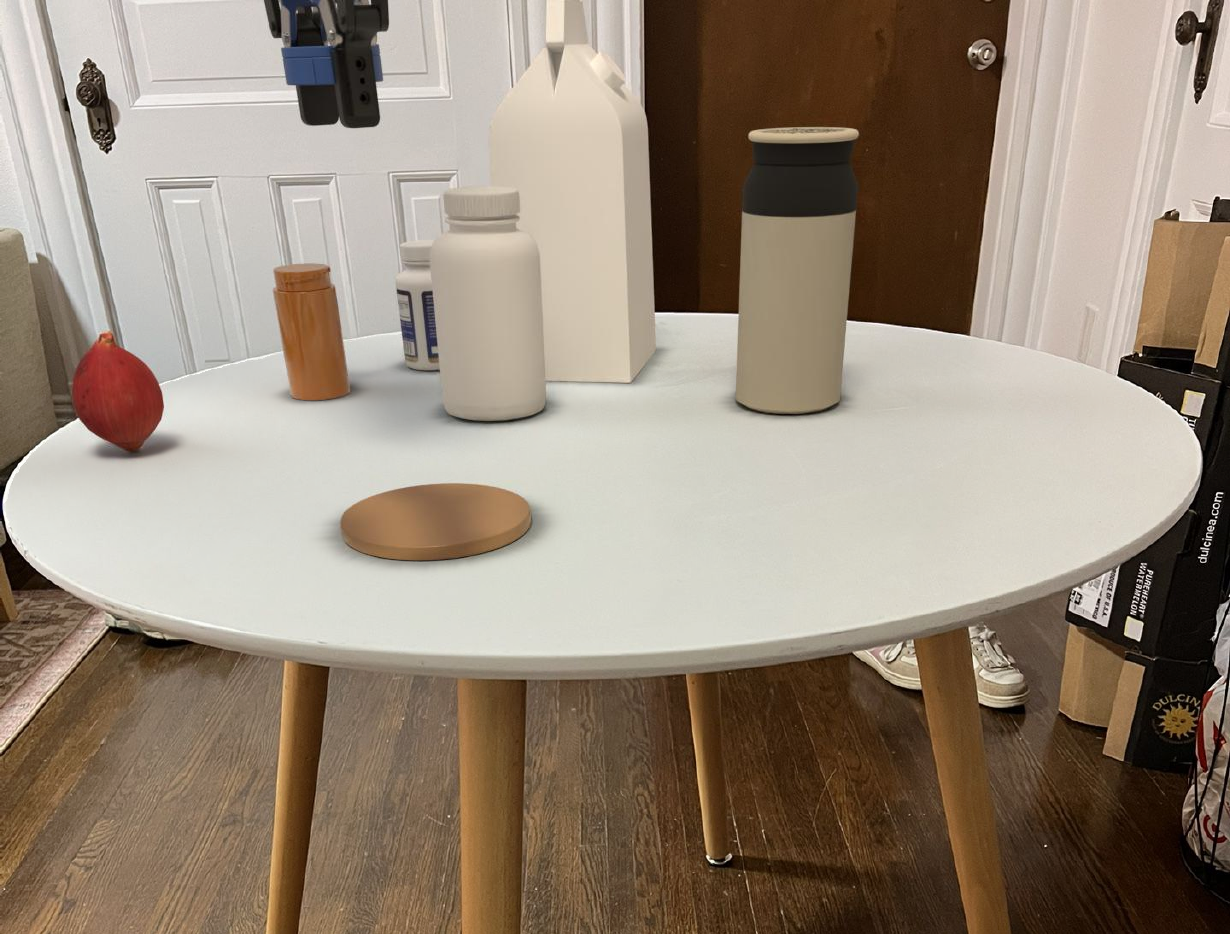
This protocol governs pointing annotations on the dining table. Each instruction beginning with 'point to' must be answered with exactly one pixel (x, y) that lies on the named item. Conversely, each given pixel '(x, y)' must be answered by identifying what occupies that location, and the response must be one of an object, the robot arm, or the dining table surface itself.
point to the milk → (582, 201)
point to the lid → (317, 65)
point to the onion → (116, 395)
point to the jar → (310, 331)
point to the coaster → (435, 521)
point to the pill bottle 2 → (488, 307)
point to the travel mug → (795, 268)
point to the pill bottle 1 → (417, 306)
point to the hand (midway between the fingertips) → (340, 124)
